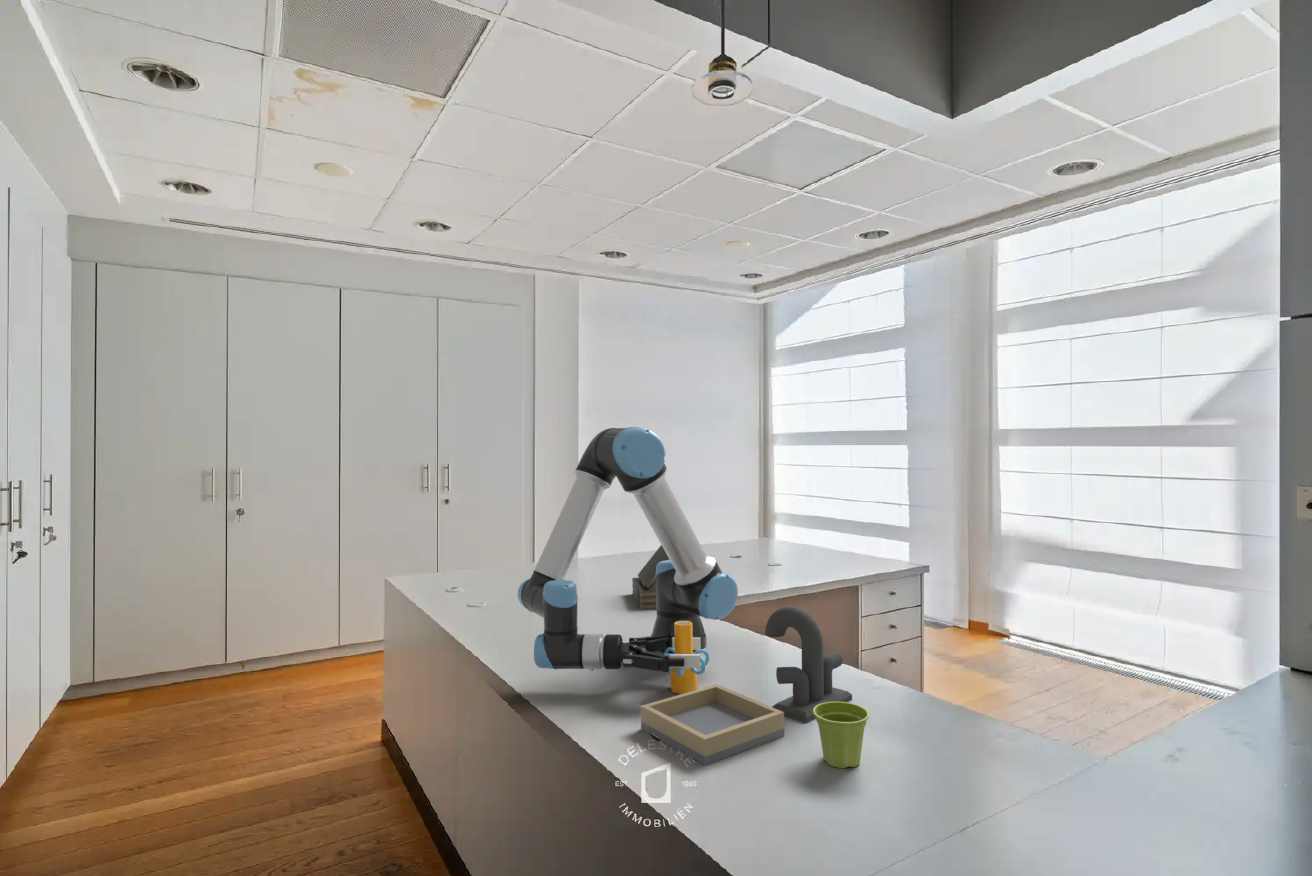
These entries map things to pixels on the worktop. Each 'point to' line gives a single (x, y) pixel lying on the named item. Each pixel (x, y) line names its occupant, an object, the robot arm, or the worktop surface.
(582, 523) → the robot arm
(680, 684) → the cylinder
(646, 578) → the grey slanted block structure
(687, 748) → the tan and grey tray
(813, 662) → the faucet
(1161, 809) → the worktop surface
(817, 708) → the plant pot
